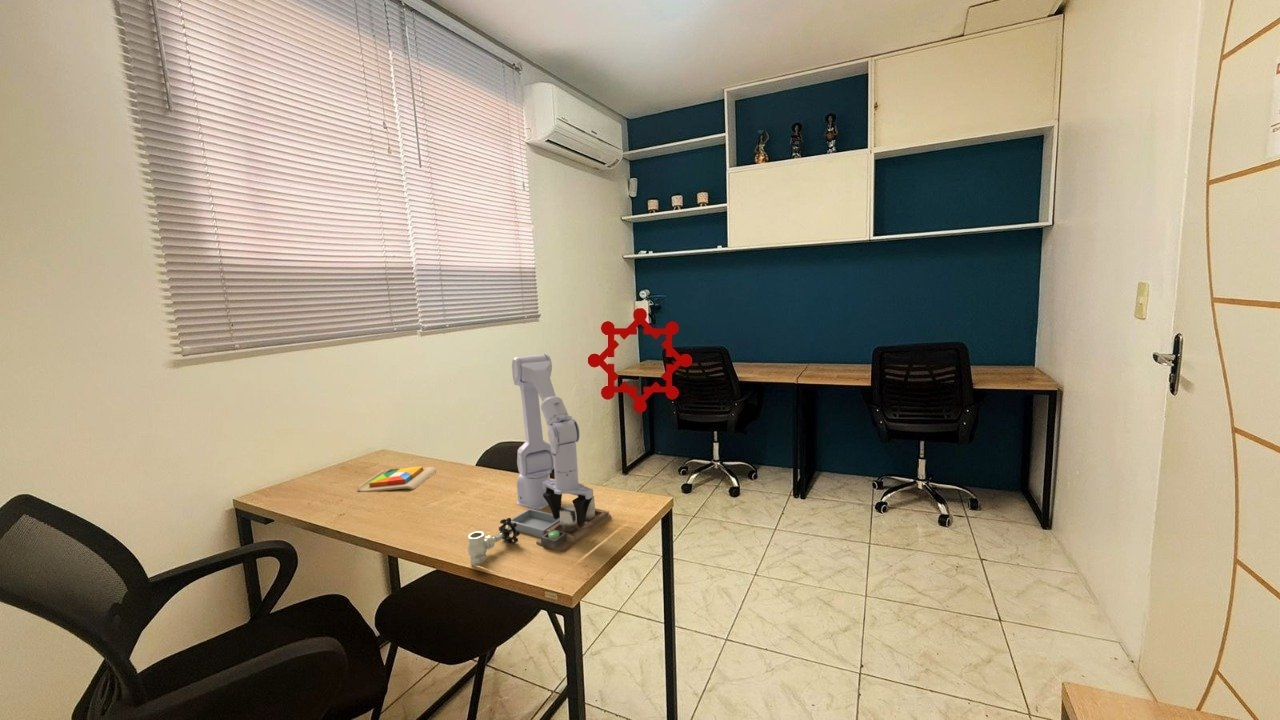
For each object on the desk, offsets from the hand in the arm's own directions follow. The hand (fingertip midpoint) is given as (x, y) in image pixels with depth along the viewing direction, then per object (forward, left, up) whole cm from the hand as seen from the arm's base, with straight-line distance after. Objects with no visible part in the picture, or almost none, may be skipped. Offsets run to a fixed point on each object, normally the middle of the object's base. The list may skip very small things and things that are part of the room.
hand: (569, 520), depth 121 cm
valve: (-11, -15, -4) cm, 19 cm away
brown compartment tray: (0, +2, -4) cm, 4 cm away
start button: (0, -6, -3) cm, 6 cm away
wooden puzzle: (-77, +4, -5) cm, 78 cm away
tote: (-10, -1, -4) cm, 11 cm away
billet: (0, 0, -3) cm, 3 cm away
